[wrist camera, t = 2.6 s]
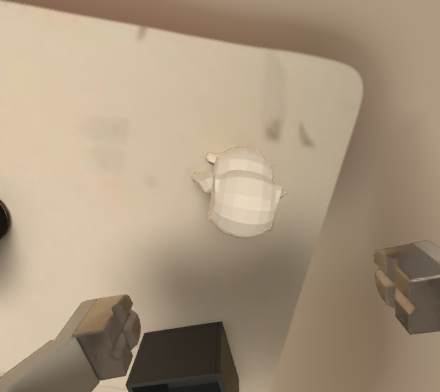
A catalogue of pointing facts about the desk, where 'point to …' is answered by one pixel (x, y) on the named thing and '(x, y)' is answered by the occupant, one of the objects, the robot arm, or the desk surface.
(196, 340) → the dark grey hollow box
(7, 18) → the desk surface
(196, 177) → the figurine
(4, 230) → the beverage can
